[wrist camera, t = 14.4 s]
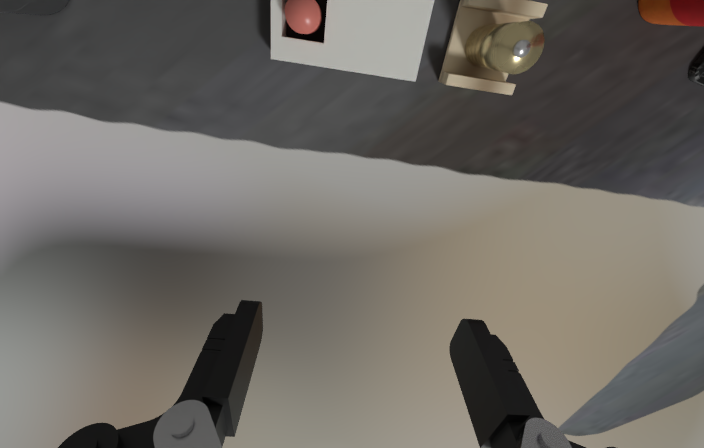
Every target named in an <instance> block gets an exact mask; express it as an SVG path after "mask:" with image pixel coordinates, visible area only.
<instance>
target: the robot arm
mask: <svg viewBox="0 0 704 448" xmlns="http://www.w3.org/2000/svg"><path fill="white" fill-rule="evenodd" d="M68 1H69V0H0V12H2V13H16V14H30V15H51V14H54V13H57V12H59V11H60V10H62V9H63V8H64V7H65V6H66V5H67V3H68ZM262 332H263V318H262V302H259V301H246V300H241V302H240V304H239V306H238V308H237V311H236V313H235V314H223V315H222V317H220V319H218V321H216V322H215V323H214V324H213V327H212V329H211V331H210V333H209V335H208V337H207V340H206V342H205V344H204V346H203V348H202V352H201V353H200V355H199V357H198V359H197V361H196V364H195V366H194V368H193V370H192V372H191V374H190V376H189V379H188V381H187V383H186V385H185V387H184V389H183V392H182V394H181V396H180V397H179V399H178V400H177V402H176V403H175V404H174V405H173V406H172V407H171V408H170V409H168V410H167V411H166V412H165V413H164V414H162V415H160V416H159V417H157V418H155V419H153V420H150V421H147V422H143V423H140V424H136V425H133V426H129V427H125V428H122V429H118V430H116V429H115V427H114V426H112V425H110V424H107V423H96V424H92V425H89V426H86V427H84V428H82V429H80V430H78V431H77V432H75V433H73V434H72V435H71V436H70V437H68V438H67V439H66V440H65V441H64V442H63V443H62V444H61V445H60V446H59V447H58V448H222V446H223V443H224V439H225V436H233V437H234V436H235V433H236V429H237V426H238V422H239V419H240V415H241V412H242V408H243V404H244V401H245V397H246V393H247V390H248V386H249V383H250V379H251V376H252V372H253V368H254V365H255V361H256V358H257V354H258V351H259V347H260V343H261V339H262ZM450 356H451V360H452V363H453V366H454V369H455V372H456V375H457V378H458V381H459V385H460V388H461V391H462V394H463V397H464V400H465V403H466V406H467V409H468V412H469V415H470V418H471V421H472V424H473V427H474V430H475V434H476V436H477V440H478V443H479V446H480V448H586V447H583V446H581V445H578V444H576V443H573V442H571V441H569V440H567V438H566V437H565V436H564V434H563V433H562V432H561V431H560V430H559V429H558V428H557V427H556V426H555V425H553V424H551V423H550V422H548V421H547V420H545V419H544V418H543V416H542V415H541V413H540V411H539V409H538V407H537V405H536V403H535V401H534V399H533V397H532V395H531V394H530V392H529V389H528V388H527V386H526V384H525V382H524V380H523V378H522V376H521V374H520V373H519V372H518V371H519V370H518V368H517V366H516V364H515V362H513V359H512V357H511V355H510V353H509V351H508V349H507V347H506V346H505V345H504V344H503V342H502V341H501V340H500V339H499V338H498V337H497V336H496V335H491V334H490V332H489V330H488V328H487V326H486V324H485V323H484V321H482V320H473V319H462V320H461V322H460V324H459V326H458V328H457V330H456V332H455V334H454V336H453V338H452V340H451V343H450ZM607 448H615V447H607Z"/></svg>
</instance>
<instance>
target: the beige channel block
mask: <svg viewBox="0 0 704 448" xmlns="http://www.w3.org/2000/svg"><path fill="white" fill-rule="evenodd" d="M547 5H548V4H544V3H539V2H534V1H528V0H460V2H459V6H458V10H457V14H456V17H455V21H454V25H453V29H452V32H451V36H450V40H449V43H448V47H447V51H446V55H445V58H444V62H443V66H442V69H441V73H440V77H439V82H441V83H443V84H445V85H451V86H457V87H463V88H469V89H476V90H482V91H488V92H495V93H501V94H507V95H512V94H513V91H514V89H515V86H516V84H512V83H509V82H506V79H507V76H508V74H509V73H504V72H500V71H496V70H491V69H487V68H483V67H478V66H474V65H472V64H471V63H469V61H468V60H467V58H466V56H465V45H466V41H467V39H468V37H469V36H470V34H471V33H472V32H473V31H474V30H475V29H476V28H478V27H480V26H483V25H491V24H501V23H511V22H521V21H529V19H534V18H543V15H544V13H545V10H546V8H547Z"/></svg>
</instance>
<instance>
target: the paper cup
mask: <svg viewBox="0 0 704 448" xmlns="http://www.w3.org/2000/svg"><path fill="white" fill-rule="evenodd" d="M638 9H639V13H640V15H641V17H642V18H643V19H644V20H645V21H647V22H649V23H653V24H664V25H683V26H704V0H638Z"/></svg>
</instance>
